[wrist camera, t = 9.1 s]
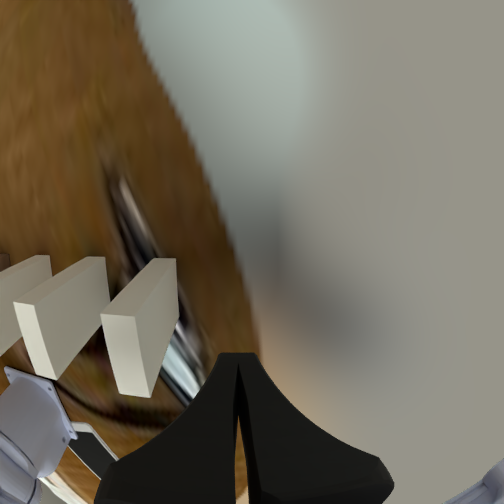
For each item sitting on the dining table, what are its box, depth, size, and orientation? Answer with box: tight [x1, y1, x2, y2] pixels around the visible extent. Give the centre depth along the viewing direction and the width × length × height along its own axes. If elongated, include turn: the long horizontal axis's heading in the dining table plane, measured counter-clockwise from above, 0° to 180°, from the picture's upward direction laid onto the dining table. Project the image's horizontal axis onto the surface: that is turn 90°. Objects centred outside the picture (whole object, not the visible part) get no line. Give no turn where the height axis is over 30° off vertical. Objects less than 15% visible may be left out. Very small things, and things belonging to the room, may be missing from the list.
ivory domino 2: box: [13, 256, 111, 380], centre depth 15 cm, size 4×2×9 cm, turn 178°
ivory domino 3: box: [100, 258, 179, 398], centre depth 15 cm, size 4×2×9 cm, turn 178°
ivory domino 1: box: [0, 255, 52, 356], centre depth 14 cm, size 4×2×9 cm, turn 178°
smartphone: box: [68, 421, 119, 479], centre depth 24 cm, size 8×1×15 cm
